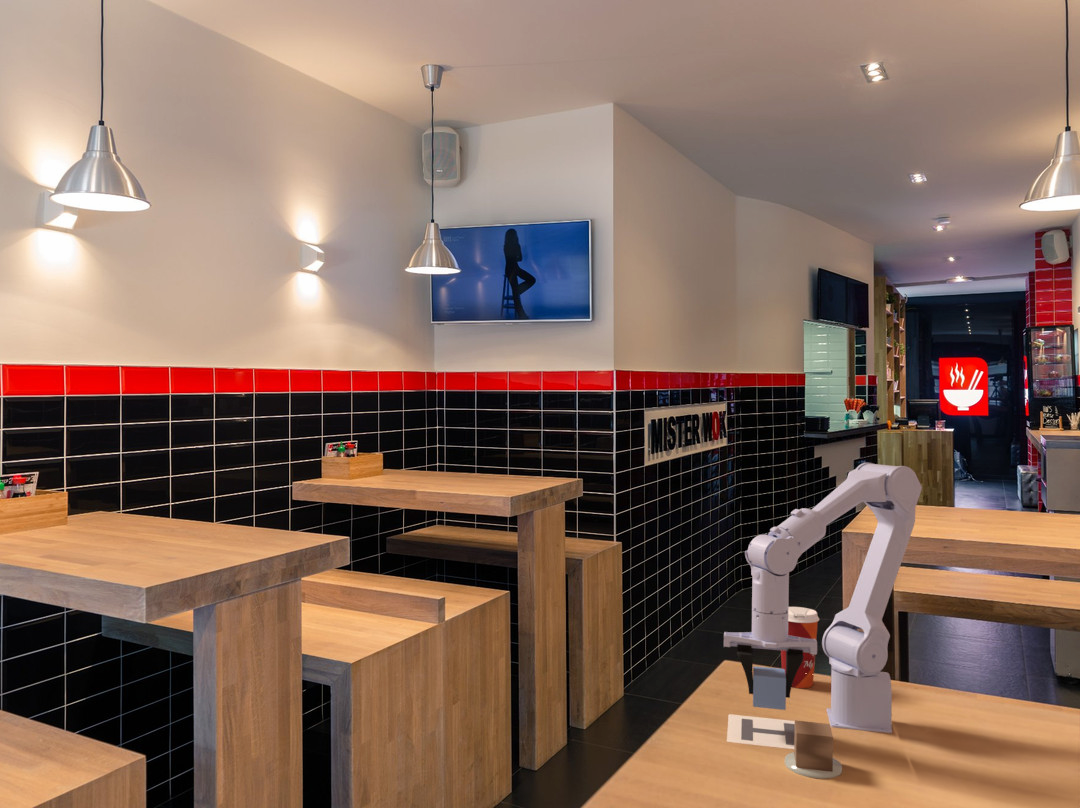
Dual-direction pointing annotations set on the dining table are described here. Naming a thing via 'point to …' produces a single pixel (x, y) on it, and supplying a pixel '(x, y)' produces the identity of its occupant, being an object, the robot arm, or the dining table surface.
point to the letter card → (761, 731)
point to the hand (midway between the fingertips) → (769, 693)
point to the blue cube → (769, 688)
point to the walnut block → (813, 746)
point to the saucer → (813, 773)
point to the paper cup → (803, 626)
